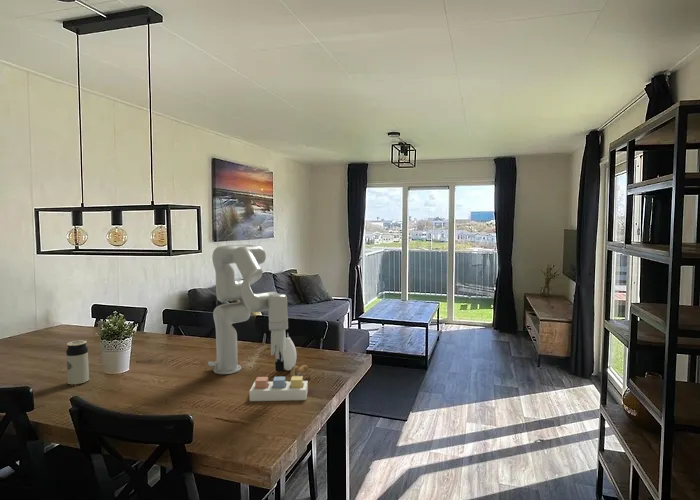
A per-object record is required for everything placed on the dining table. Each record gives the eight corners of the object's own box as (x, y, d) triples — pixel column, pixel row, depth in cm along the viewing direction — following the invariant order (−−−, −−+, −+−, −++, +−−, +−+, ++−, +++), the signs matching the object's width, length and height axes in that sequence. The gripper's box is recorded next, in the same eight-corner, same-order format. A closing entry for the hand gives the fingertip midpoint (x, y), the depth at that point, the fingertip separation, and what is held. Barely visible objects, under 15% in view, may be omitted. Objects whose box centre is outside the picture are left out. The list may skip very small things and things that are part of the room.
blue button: (273, 390, 172) (272, 380, 172) (274, 386, 176) (274, 376, 176) (284, 390, 172) (284, 380, 172) (285, 386, 176) (285, 376, 176)
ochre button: (290, 390, 172) (290, 380, 172) (291, 385, 176) (291, 376, 176) (301, 389, 172) (301, 380, 172) (302, 385, 177) (302, 376, 176)
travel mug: (86, 378, 196) (84, 339, 195) (91, 382, 191) (89, 342, 190) (65, 382, 191) (64, 342, 190) (70, 387, 185) (68, 346, 184)
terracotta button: (255, 390, 172) (255, 380, 171) (257, 386, 176) (257, 377, 176) (266, 390, 172) (266, 380, 172) (268, 386, 176) (268, 376, 176)
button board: (249, 401, 169) (249, 391, 169) (254, 391, 179) (254, 381, 179) (306, 399, 170) (305, 390, 169) (307, 390, 180) (307, 380, 179)
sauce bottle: (293, 373, 201) (292, 334, 200) (277, 372, 202) (276, 334, 201) (298, 367, 208) (298, 330, 207) (283, 366, 210) (282, 330, 209)
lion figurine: (299, 388, 181) (299, 367, 181) (288, 387, 183) (287, 366, 182) (312, 377, 195) (312, 357, 195) (301, 376, 197) (301, 356, 196)
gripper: (271, 321, 180) (273, 365, 181) (265, 329, 165) (267, 377, 166) (290, 321, 180) (291, 364, 181) (285, 329, 165) (287, 376, 166)
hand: (279, 370), depth 173 cm, fingers closed
